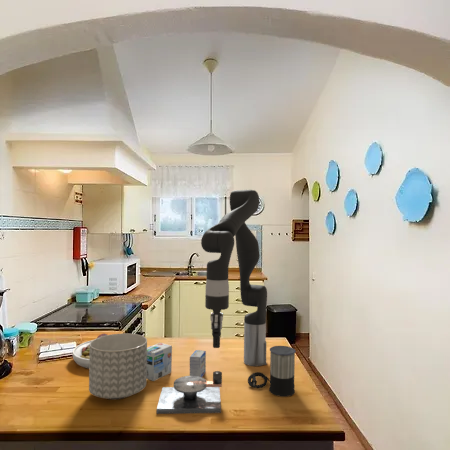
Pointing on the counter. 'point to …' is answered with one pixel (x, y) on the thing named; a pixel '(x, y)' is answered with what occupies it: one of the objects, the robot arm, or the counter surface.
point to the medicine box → (198, 363)
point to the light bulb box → (159, 361)
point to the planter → (117, 365)
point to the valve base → (189, 401)
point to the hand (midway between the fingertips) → (216, 347)
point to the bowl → (83, 353)
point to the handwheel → (197, 383)
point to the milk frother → (278, 372)
